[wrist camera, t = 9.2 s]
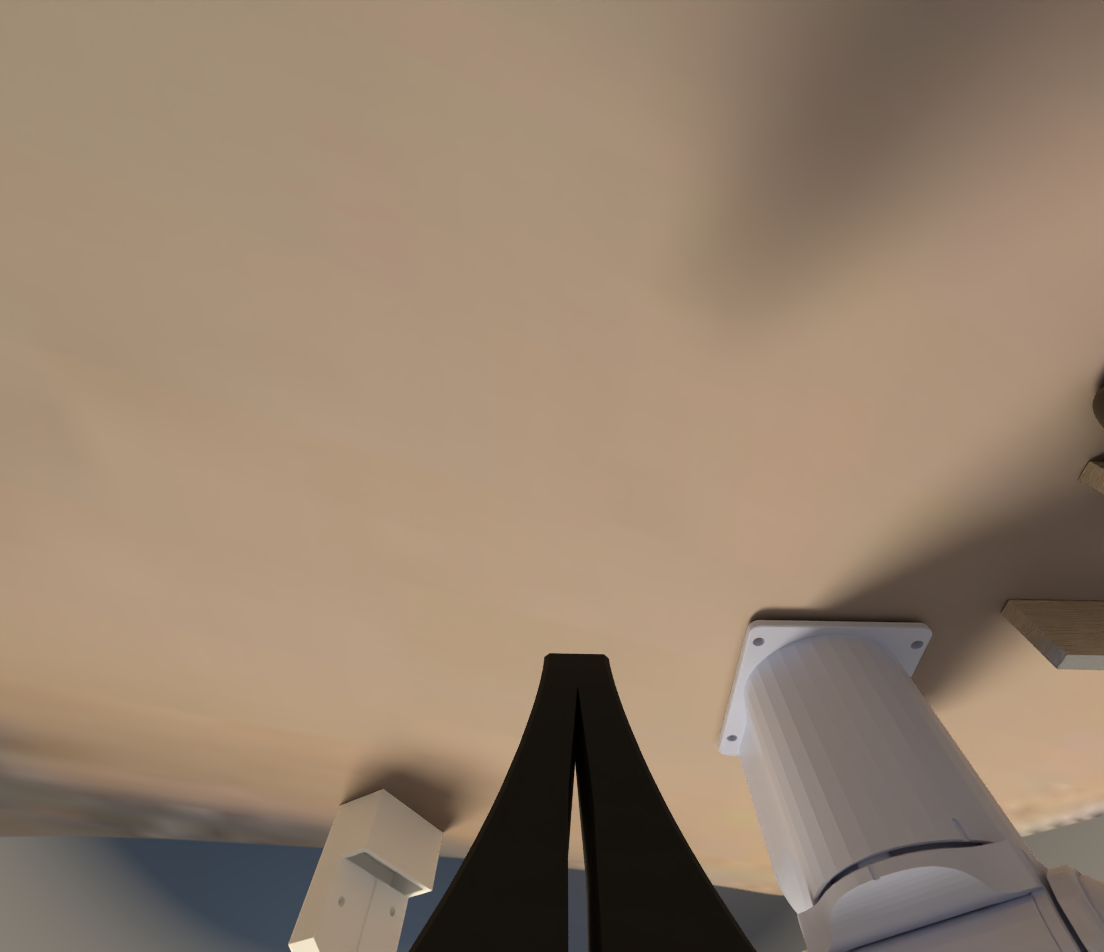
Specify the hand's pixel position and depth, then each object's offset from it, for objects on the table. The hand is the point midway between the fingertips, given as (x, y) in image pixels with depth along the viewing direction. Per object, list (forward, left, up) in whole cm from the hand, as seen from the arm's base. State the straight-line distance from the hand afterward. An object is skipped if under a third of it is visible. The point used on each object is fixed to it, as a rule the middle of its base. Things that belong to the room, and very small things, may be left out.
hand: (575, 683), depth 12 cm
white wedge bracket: (-25, +11, -10) cm, 29 cm away
